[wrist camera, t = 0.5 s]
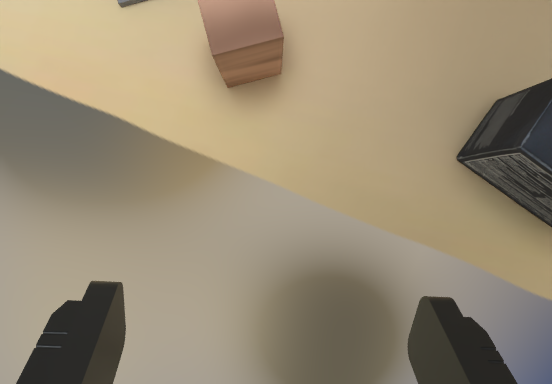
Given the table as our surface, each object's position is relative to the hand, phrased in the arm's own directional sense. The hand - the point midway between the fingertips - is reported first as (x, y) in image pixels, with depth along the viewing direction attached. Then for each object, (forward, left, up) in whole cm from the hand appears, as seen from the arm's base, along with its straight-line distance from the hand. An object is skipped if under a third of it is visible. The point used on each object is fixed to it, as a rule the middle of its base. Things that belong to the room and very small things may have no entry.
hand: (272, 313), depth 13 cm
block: (-10, -10, -27) cm, 30 cm away
